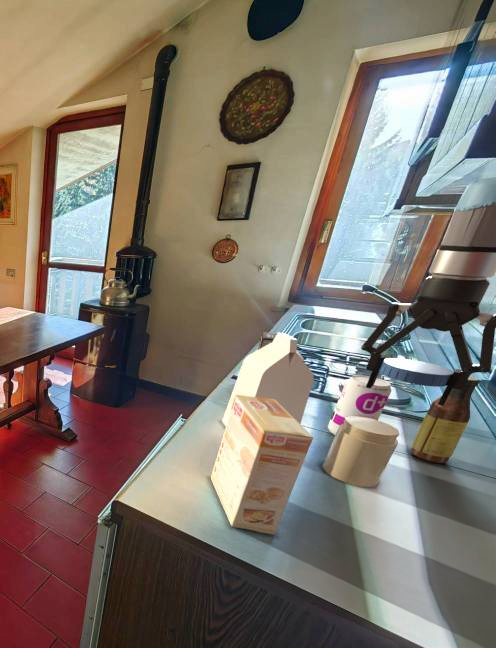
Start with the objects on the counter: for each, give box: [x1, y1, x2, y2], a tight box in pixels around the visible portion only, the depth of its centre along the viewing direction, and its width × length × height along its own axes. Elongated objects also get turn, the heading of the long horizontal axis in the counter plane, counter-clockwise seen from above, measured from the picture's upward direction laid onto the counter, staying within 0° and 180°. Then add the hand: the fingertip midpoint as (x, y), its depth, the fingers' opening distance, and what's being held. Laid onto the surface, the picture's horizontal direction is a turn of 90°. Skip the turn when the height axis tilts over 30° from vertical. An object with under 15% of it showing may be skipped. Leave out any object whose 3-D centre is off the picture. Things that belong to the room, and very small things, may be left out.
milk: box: [221, 332, 315, 427], centre depth 94 cm, size 12×12×26 cm
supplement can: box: [327, 374, 392, 436], centre depth 97 cm, size 8×8×15 cm
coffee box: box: [257, 331, 277, 350], centre depth 129 cm, size 9×6×16 cm
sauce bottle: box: [410, 375, 481, 464], centre depth 87 cm, size 6×6×20 cm
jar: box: [322, 416, 400, 488], centre depth 81 cm, size 9×9×12 cm
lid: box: [379, 357, 454, 388], centre depth 74 cm, size 10×10×2 cm
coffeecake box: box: [210, 395, 314, 536], centre depth 70 cm, size 15×7×20 cm, turn 164°
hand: (403, 394), depth 76 cm, fingers closed on lid, 9 cm apart
